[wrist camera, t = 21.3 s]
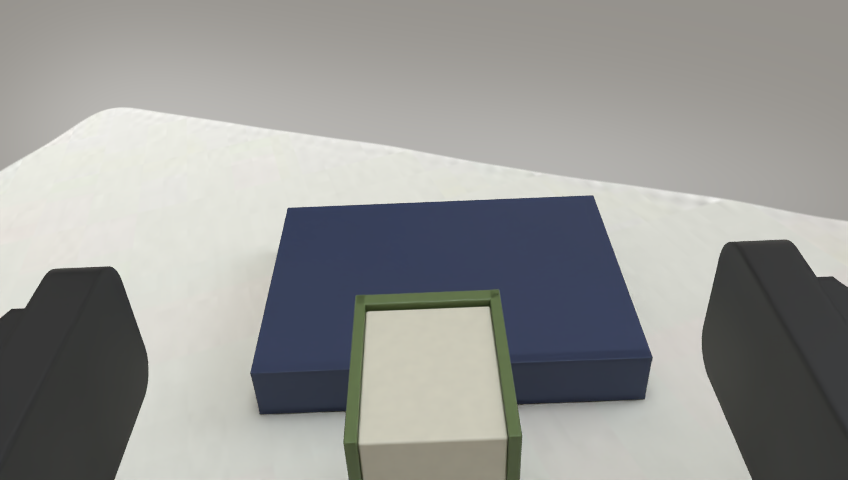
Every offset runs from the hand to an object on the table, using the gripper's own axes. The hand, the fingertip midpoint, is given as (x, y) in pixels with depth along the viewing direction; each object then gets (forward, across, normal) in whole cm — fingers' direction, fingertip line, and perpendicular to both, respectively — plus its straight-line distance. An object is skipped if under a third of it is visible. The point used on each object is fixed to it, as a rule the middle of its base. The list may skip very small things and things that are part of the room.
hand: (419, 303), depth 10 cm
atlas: (+27, -1, +24) cm, 36 cm away
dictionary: (+11, 0, +24) cm, 26 cm away
